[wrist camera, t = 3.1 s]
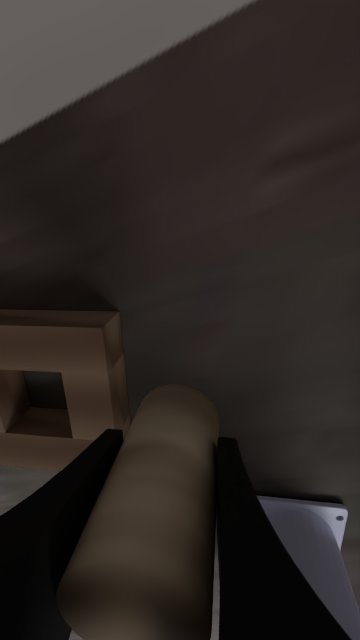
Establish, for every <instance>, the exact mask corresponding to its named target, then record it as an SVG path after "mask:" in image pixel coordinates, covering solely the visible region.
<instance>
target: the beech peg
mask: <svg viewBox="0 0 360 640" xmlns="http://www.w3.org/2000/svg"><path fill="white" fill-rule="evenodd" d="M219 428H220V420H219V414H218V411H217V409H216V407H215V405H214V404H213V402H212V401H211V400H210V399H209V398H208V397H207V396H206V395H205V394H204V393H202V392H201V391H199V390H197V389H195V388H193V387H190V386H187V385H182V384H167V385H163V386H159V387H157V388H155V389H153V390H151V391H150V392H149V393H148V394H147V395H146V396H145V397H144V398H143V400H142V401H141V403H140V406H139V408H138V410H137V412H136V414H135V417H134V419H133V421H132V423H131V426H130V428H129V430H128V432H127V434H126V437H125V439H124V441H123V443H122V446H121V448H120V450H119V452H118V454H117V457H116V459H115V461H114V463H113V465H112V468H111V470H110V472H109V474H108V477H107V479H106V481H105V483H104V485H103V488H102V490H101V492H100V494H99V497H98V499H97V501H96V503H95V505H94V508H93V510H92V512H91V514H90V517H89V519H88V521H87V523H86V525H85V528H84V530H83V532H82V534H81V536H80V539H79V541H78V543H77V545H76V548H75V550H74V552H73V554H72V556H71V559H70V561H69V563H68V565H67V568H66V570H65V572H64V574H63V576H62V579H61V581H60V583H59V585H58V588H57V593H56V600H57V605H58V608H59V611H60V613H61V615H62V617H63V618H64V620H65V621H66V623H67V624H68V625H69V626H70V627H71V628H72V630H73V631H75V632H76V633H77V634H78V635H79V636H80V637H81V638H83V639H84V640H210V638H211V631H212V606H213V580H214V555H215V529H216V504H217V440H218V437H219Z"/></svg>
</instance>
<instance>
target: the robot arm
mask: <svg viewBox="0 0 360 640" xmlns="http://www.w3.org/2000/svg"><path fill="white" fill-rule="evenodd" d="M123 441H124V439H123V430H120V429H106V430H105V431H104V432H103V433H102V434H101V435H100V436H99V437H98V438H97V439H95V440H94V441H93V442H92V443H91V444H90V445H89V446H88V447H87V448H86V449H85V450H84V451H83V452H82V453H80V454H79V455H78V456H77V457H76V458H75V459H74V460H73V461H72V462H70V463H69V464H68V465H67V466H66V467H65V468H64V469H63V470H61V471H60V472H59V473H58V474H57V475H55V476H54V477H53V478H52V479H51V480H49V481H48V482H47V483H46V484H45V485H43V486H42V487H41V488H39V489H38V490H37V491H36V492H34V493H33V494H32V495H30V496H29V497H27V498H26V499H25V500H23V501H22V502H20V503H19V504H18V505H16V506H15V507H13V508H12V509H10V510H9V511H7V512H6V513H4V514H3V515H1V516H0V640H69V637H70V633H71V630H72V628H71V627H70V626H69V625H68V624H67V623H66V621H65V620H64V618H63V617H62V615H61V613H60V611H59V608H58V605H57V600H56V593H57V588H58V585H59V583H60V581H61V579H62V576H63V574H64V572H65V570H66V568H67V565H68V563H69V561H70V559H71V556H72V554H73V552H74V550H75V548H76V545H77V543H78V541H79V539H80V536H81V534H82V532H83V530H84V528H85V525H86V523H87V521H88V519H89V517H90V514H91V512H92V510H93V508H94V505H95V503H96V501H97V499H98V497H99V494H100V492H101V490H102V488H103V485H104V483H105V481H106V479H107V477H108V474H109V472H110V470H111V468H112V465H113V463H114V461H115V459H116V457H117V454H118V452H119V450H120V448H121V446H122V443H123ZM347 516H348V511H347V508H346V507H345V506H344V505H342V504H336V503H326V502H316V501H306V500H296V499H286V498H277V497H267V496H257V495H256V493H255V491H254V489H253V486H252V484H251V482H250V479H249V477H248V474H247V472H246V469H245V467H244V464H243V461H242V458H241V455H240V451H239V447H238V441H237V440H236V439H235V438H223V437H218V440H217V504H216V520H217V540H218V560H219V580H220V614H219V640H360V611H359V608H358V605H357V602H356V599H355V596H354V593H353V590H352V587H351V584H350V581H349V578H348V575H347V571H346V568H345V565H344V562H343V559H342V556H341V553H340V549H341V544H342V539H343V535H344V530H345V525H346V520H347Z"/></svg>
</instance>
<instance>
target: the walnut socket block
mask: <svg viewBox="0 0 360 640" xmlns="http://www.w3.org/2000/svg"><path fill="white" fill-rule="evenodd" d="M23 371H43V372H61V374H62V380H63V385H64V391H65V397H66V402H67V408H68V409H53V408H38V407H31V405H30V400H29V396H28V391H27V387H26V383H25V378H24V374H23ZM130 426H131V421H130V411H129V401H128V391H127V381H126V371H125V361H124V351H123V341H122V332H121V322H120V312H119V311H64V310H8V309H0V466H10V467H20V468H30V469H40V470H50V471H61V470H63V469H64V468H65V467H66V466H67V465H68V464H69V463H70V462H72V461H73V460H74V459H75V458H76V457H77V456H78V455H79V454H80V453H82V452H83V451H84V450H85V449H86V448H87V447H88V446H89V445H90V444H91V443H92V442H93V441H94V440H95V439H97V438H98V437H99V436H100V435H101V434H102V433H103V432H104V431H105V430H106V429H120V430H123V439H125V437H126V434H127V432H128V430H129V428H130Z"/></svg>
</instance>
